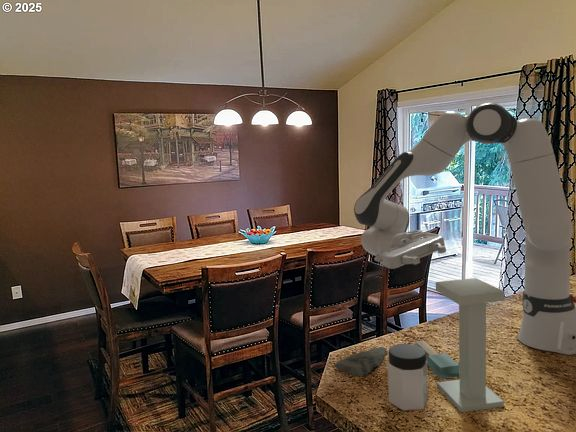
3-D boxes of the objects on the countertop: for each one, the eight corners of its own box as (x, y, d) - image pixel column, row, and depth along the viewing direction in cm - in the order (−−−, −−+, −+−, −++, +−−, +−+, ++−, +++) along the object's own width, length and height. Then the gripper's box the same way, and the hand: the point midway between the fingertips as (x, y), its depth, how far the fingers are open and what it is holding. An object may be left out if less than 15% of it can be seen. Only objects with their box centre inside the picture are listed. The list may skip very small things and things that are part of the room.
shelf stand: (475, 381, 109) (475, 277, 106) (503, 406, 98) (504, 291, 95) (437, 387, 108) (435, 282, 104) (461, 412, 97) (460, 296, 93)
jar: (422, 415, 97) (421, 362, 95) (385, 407, 101) (383, 356, 99) (430, 394, 104) (429, 345, 103) (395, 388, 108) (394, 340, 107)
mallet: (427, 347, 129) (427, 337, 129) (459, 376, 112) (459, 365, 112) (411, 349, 129) (410, 339, 128) (440, 379, 111) (440, 367, 111)
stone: (374, 341, 131) (402, 350, 124) (374, 351, 132) (402, 361, 124) (332, 357, 121) (361, 368, 113) (333, 369, 121) (361, 380, 113)
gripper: (369, 248, 131) (399, 256, 119) (422, 228, 139) (456, 233, 127) (373, 268, 133) (403, 278, 120) (425, 247, 140) (459, 254, 128)
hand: (431, 255), depth 123 cm, fingers open, 8 cm apart
